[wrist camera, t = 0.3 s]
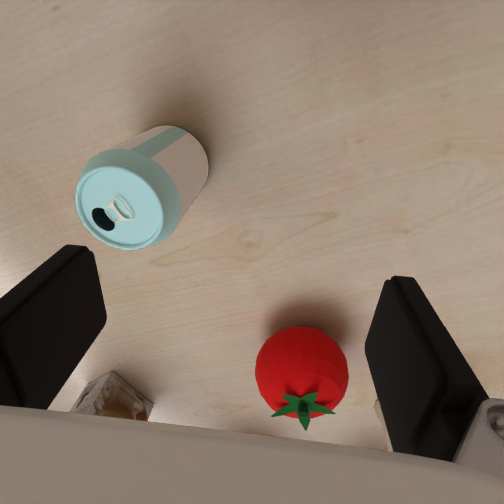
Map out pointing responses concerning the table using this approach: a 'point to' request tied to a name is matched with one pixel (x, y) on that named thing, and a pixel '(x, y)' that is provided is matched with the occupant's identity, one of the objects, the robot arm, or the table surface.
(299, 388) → the tomato
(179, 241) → the table surface
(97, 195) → the can
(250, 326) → the table surface
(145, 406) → the coffee box
